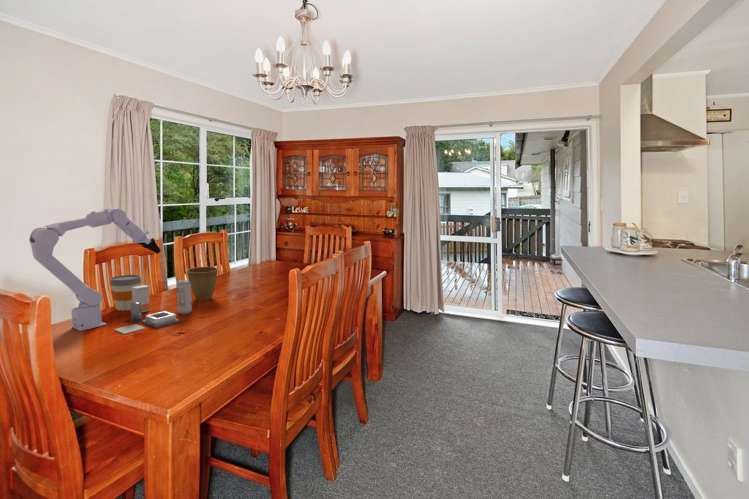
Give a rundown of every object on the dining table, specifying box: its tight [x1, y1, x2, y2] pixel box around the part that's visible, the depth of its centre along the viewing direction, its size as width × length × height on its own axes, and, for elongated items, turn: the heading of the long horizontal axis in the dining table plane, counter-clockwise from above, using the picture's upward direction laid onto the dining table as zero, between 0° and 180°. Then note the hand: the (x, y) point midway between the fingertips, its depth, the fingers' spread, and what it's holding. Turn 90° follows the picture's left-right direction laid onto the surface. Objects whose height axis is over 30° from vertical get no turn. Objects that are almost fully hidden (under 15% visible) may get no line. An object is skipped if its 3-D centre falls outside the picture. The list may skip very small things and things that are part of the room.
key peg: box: [130, 302, 143, 323], centre depth 167 cm, size 4×4×8 cm
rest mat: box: [114, 323, 146, 335], centre depth 157 cm, size 8×8×1 cm
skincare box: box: [132, 284, 151, 313], centre depth 180 cm, size 6×4×12 cm
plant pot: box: [186, 266, 219, 302], centre depth 203 cm, size 15×15×16 cm
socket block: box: [141, 310, 181, 329], centre depth 166 cm, size 10×12×3 cm
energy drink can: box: [175, 279, 193, 315], centre depth 179 cm, size 6×6×15 cm
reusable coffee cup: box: [109, 274, 142, 312], centre depth 184 cm, size 13×12×15 cm
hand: (155, 250), depth 178 cm, fingers open, 7 cm apart
